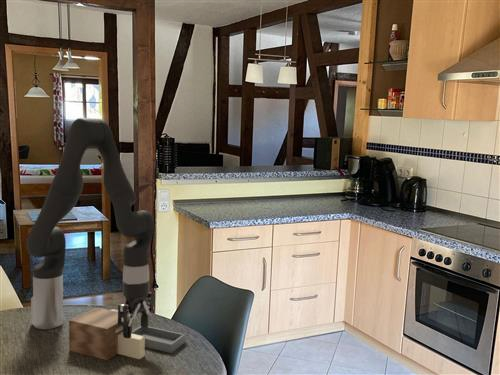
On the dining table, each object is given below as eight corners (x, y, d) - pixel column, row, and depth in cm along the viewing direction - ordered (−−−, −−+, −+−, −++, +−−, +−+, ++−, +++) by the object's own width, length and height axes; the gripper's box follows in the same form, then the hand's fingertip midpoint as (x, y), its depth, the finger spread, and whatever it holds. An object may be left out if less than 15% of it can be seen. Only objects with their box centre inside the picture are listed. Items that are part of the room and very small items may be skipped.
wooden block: (69, 350, 147) (69, 320, 146) (95, 335, 158) (95, 307, 157) (108, 360, 142) (108, 329, 141) (133, 344, 153) (133, 315, 152)
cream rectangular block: (106, 351, 148) (106, 331, 147) (111, 347, 150) (111, 328, 149) (139, 359, 143) (139, 339, 143) (144, 355, 146) (144, 336, 145)
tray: (126, 342, 154) (126, 334, 154) (142, 332, 162) (142, 324, 162) (171, 353, 148) (171, 344, 148) (185, 342, 156) (185, 334, 155)
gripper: (139, 271, 151) (139, 321, 152) (109, 283, 138) (110, 339, 139) (160, 274, 148) (160, 326, 150) (132, 287, 135) (132, 343, 136)
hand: (136, 332), depth 144 cm, fingers open, 8 cm apart
